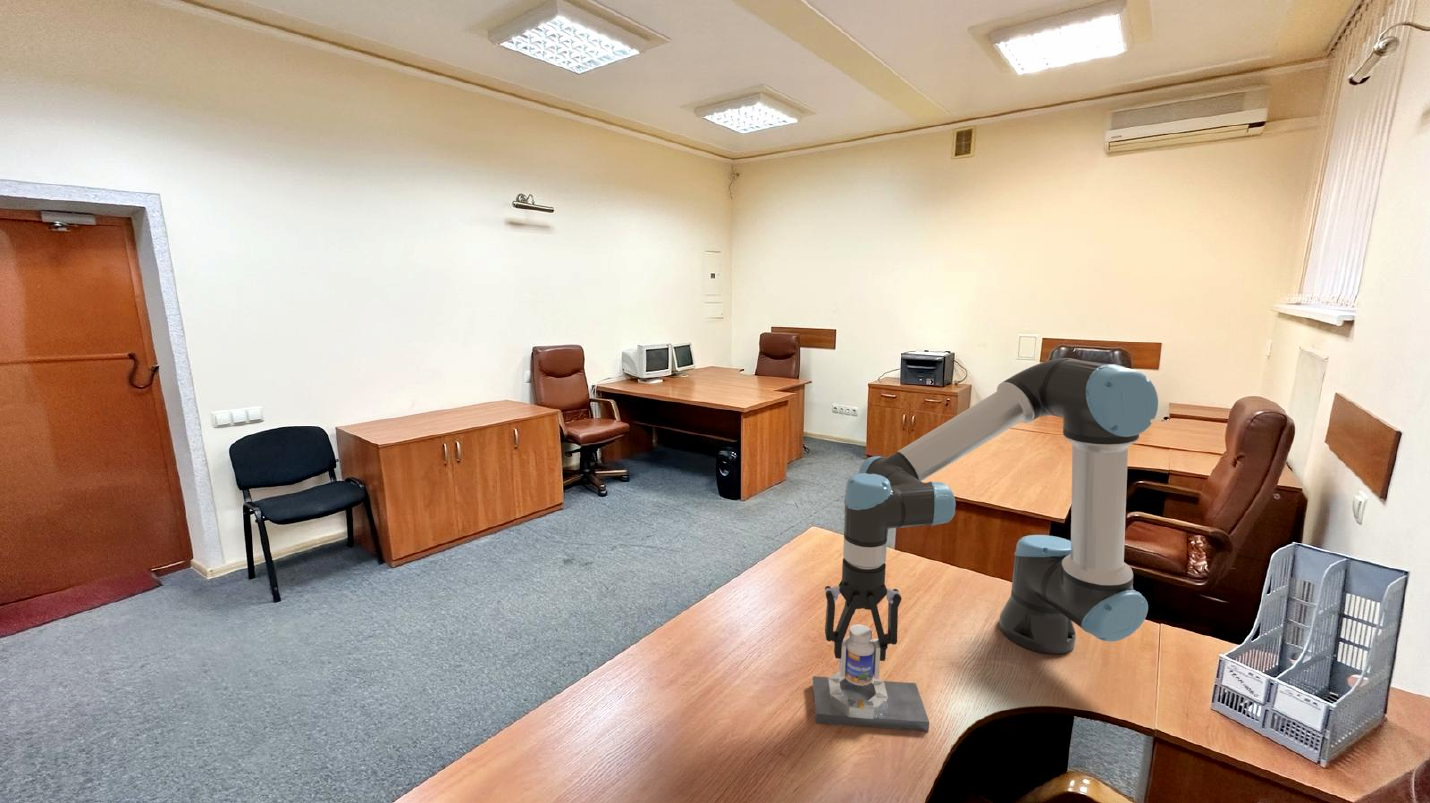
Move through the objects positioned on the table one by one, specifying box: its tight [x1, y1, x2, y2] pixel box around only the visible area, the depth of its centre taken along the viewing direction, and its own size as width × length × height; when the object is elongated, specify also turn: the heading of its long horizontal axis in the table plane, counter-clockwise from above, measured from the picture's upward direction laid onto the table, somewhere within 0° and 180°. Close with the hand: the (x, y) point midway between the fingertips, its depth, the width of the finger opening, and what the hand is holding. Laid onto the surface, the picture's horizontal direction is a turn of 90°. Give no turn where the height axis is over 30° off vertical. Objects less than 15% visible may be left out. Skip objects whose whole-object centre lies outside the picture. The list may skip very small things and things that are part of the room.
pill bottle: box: [845, 623, 875, 686], centre depth 104 cm, size 5×5×10 cm
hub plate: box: [812, 670, 930, 733], centre depth 106 cm, size 20×10×4 cm, turn 84°
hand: (858, 672), depth 105 cm, fingers closed on pill bottle, 5 cm apart
